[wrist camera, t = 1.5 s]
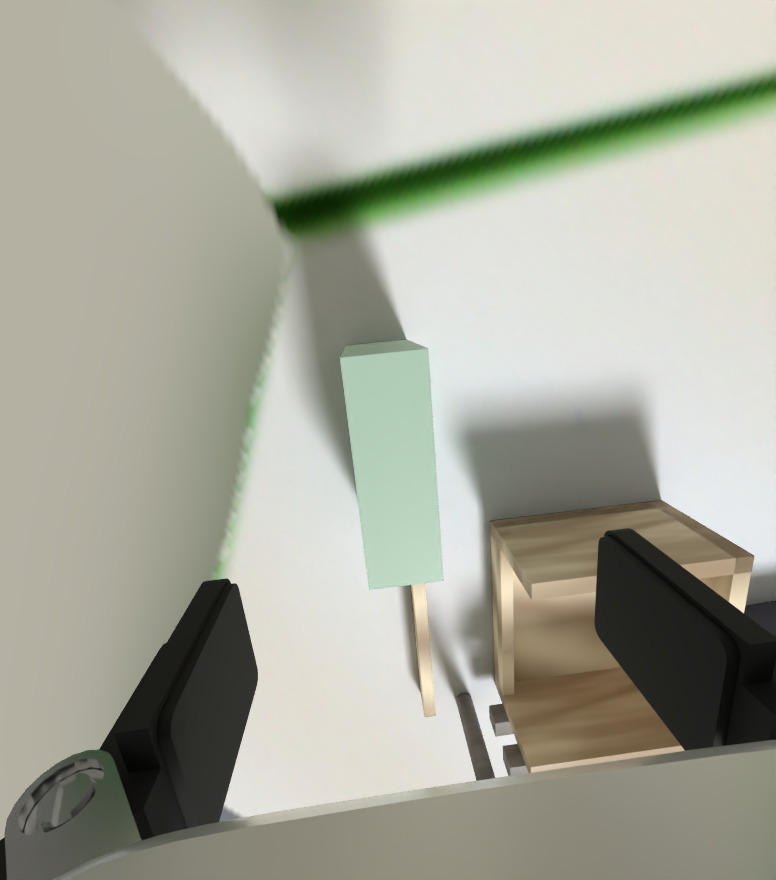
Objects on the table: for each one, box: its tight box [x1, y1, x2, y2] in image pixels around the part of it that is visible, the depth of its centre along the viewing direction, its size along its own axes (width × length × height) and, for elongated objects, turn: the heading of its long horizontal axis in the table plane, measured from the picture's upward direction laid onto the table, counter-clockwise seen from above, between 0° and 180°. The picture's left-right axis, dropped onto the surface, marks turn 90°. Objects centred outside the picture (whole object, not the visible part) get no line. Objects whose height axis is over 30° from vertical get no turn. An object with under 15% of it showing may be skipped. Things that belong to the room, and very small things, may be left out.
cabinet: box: [411, 500, 754, 781], centre depth 27 cm, size 16×18×8 cm
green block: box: [340, 339, 444, 590], centre depth 22 cm, size 12×4×8 cm, turn 5°
